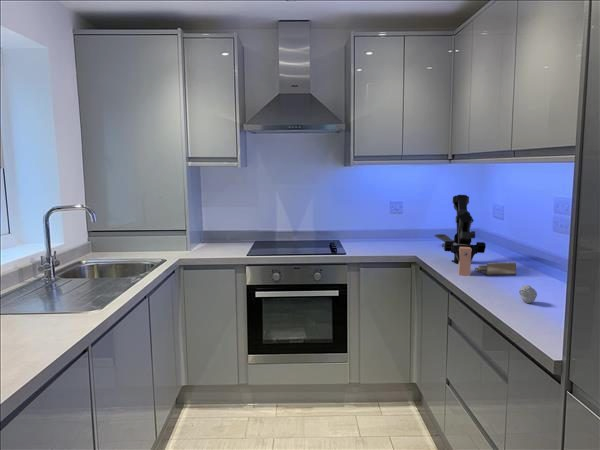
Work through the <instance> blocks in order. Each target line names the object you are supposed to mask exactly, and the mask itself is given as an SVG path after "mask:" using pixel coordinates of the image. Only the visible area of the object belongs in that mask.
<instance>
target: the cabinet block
mask: <svg viewBox="0 0 600 450" xmlns="http://www.w3.org/2000/svg"><path fill="white" fill-rule="evenodd" d="M471 250H472V249H471V247H459V257H460V261H459V263H458V271H457V272H458V273H457V274H458V275H459V276H469V277H470V276H471V267H472V266H471V263H472V261H471Z"/></svg>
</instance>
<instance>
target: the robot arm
mask: <svg viewBox="0 0 600 450" xmlns="http://www.w3.org/2000/svg"><path fill="white" fill-rule="evenodd" d="M452 204H453V208H454V211H456V216H455V224H456V233H455V235H454V236H453V239H452V240H453V241H445V242H444V243H445V245H444V248H443V251H444V252H451V253H452V254H454V255H453V258H454V259H452V260H451V262H453V263H455V264H459V261H460V257H459V247H471V262H472V261H473V258H474V256H475V255H478V254H484V253H485V252H486V247H487V244H486V243H485V242H484V241H476V244H472V239H475V238H476V231H473V230H472V231H471V229H470V228H471V227H472V224H473V222H474V220H475V219H474V218H473V216H472V215H471V212H470V211H468V205H469V204H470V196H468V195H467V194H456V195H455V196H454V195H453V196H452Z"/></svg>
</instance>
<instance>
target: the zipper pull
mask: <svg viewBox="0 0 600 450" xmlns="http://www.w3.org/2000/svg"><path fill="white" fill-rule="evenodd" d="M434 237H436V238H437V239H439V240H441V241H442V242H444V243H442V245H441V247H442V248H443V247H444V245H445V241H453V240H454V239H452V238H451V237H449V236H448V235H447V234H441V233H439V234H434Z"/></svg>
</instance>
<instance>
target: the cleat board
mask: <svg viewBox="0 0 600 450" xmlns="http://www.w3.org/2000/svg"><path fill="white" fill-rule="evenodd" d="M474 271H476V272H478V273H480V274H482V275H484V276H487V277H497V276H500V277H502V276H503V277H505V276H507V277H509V276H516V273H517V262H487V263H486V265H482V264H481V265H478V266H477V267H474Z"/></svg>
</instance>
